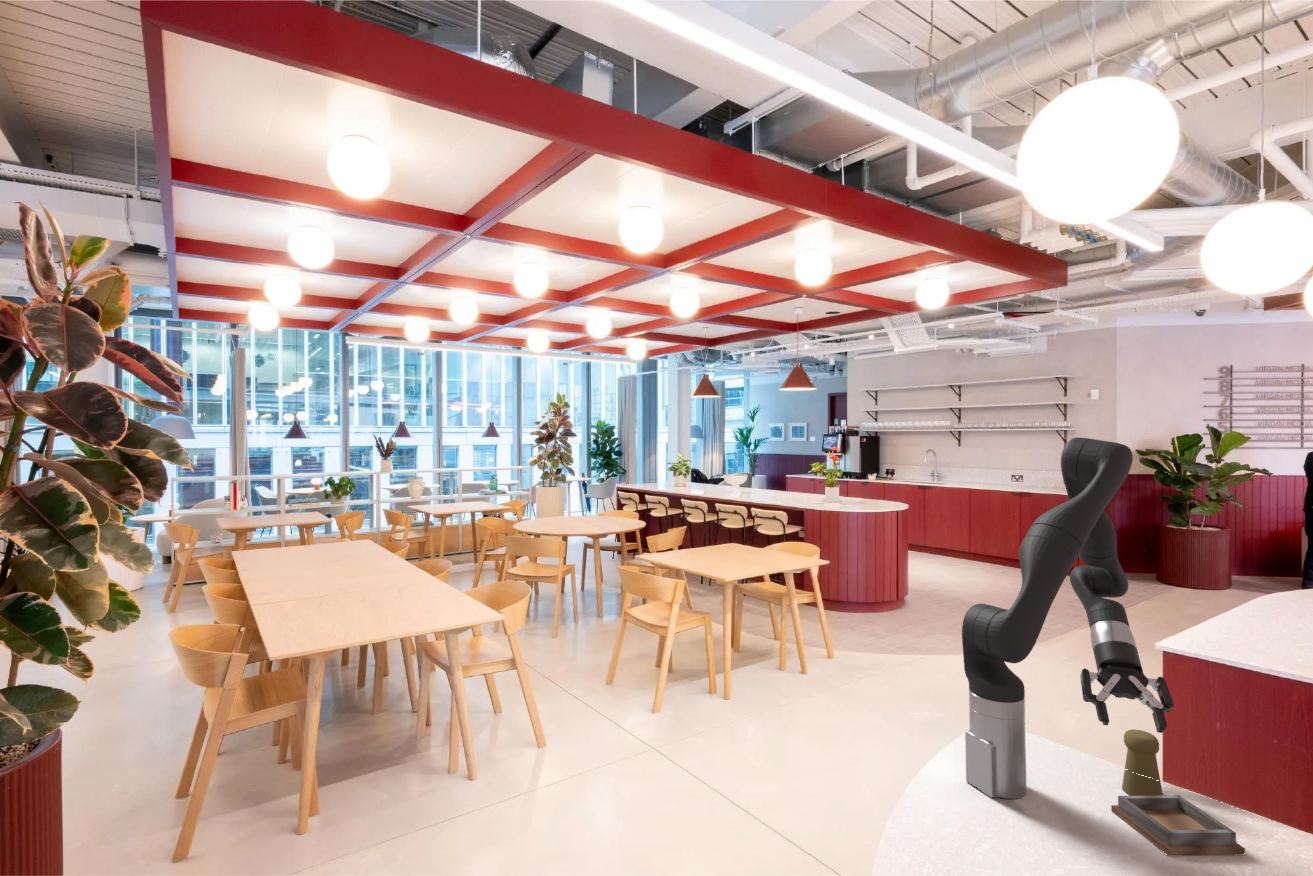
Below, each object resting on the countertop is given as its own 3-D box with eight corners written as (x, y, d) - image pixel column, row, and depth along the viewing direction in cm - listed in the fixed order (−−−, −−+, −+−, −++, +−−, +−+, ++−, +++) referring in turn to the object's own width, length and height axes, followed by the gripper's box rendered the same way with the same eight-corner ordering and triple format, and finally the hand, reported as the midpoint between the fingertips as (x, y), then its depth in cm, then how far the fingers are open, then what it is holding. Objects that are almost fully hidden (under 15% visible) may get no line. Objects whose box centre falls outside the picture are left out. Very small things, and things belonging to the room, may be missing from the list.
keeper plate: (1167, 855, 97) (1167, 836, 97) (1111, 811, 109) (1111, 793, 109) (1245, 854, 97) (1244, 835, 97) (1180, 810, 109) (1179, 793, 109)
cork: (1171, 804, 111) (1169, 741, 112) (1132, 800, 113) (1131, 738, 113) (1151, 786, 117) (1150, 726, 118) (1115, 783, 119) (1114, 724, 119)
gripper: (1076, 635, 130) (1092, 713, 120) (1161, 643, 125) (1185, 725, 114) (1071, 653, 135) (1085, 729, 124) (1152, 661, 130) (1174, 741, 119)
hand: (1133, 727), depth 119 cm, fingers open, 8 cm apart
